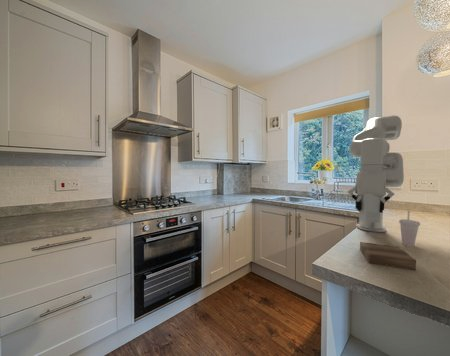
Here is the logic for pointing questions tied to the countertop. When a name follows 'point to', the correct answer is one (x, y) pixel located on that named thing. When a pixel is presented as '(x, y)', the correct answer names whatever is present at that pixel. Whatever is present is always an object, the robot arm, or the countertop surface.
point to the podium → (387, 255)
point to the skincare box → (370, 208)
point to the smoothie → (409, 230)
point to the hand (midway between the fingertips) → (369, 210)
